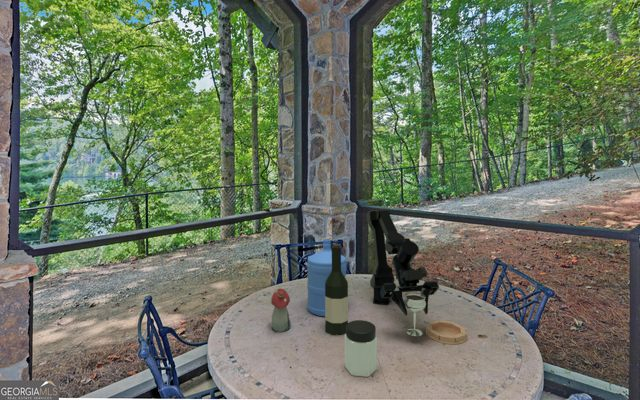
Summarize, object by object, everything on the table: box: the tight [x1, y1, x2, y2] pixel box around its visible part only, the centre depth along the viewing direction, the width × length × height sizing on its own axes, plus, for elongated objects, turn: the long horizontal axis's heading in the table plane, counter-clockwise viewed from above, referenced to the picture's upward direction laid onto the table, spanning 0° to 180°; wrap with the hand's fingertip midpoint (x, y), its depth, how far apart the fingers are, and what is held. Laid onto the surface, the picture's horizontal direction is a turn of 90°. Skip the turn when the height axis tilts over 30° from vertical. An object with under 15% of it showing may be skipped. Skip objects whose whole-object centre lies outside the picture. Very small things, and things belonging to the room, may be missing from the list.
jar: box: [344, 319, 378, 378], centre depth 90 cm, size 9×8×12 cm
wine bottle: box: [324, 243, 349, 336], centre depth 112 cm, size 8×8×30 cm
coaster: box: [425, 320, 468, 345], centre depth 109 cm, size 13×13×2 cm
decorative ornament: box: [270, 288, 292, 333], centre depth 115 cm, size 9×6×15 cm
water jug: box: [306, 239, 348, 317], centre depth 130 cm, size 16×16×28 cm
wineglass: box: [403, 292, 426, 337], centre depth 105 cm, size 7×7×12 cm
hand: (416, 314), depth 104 cm, fingers closed on wineglass, 6 cm apart
